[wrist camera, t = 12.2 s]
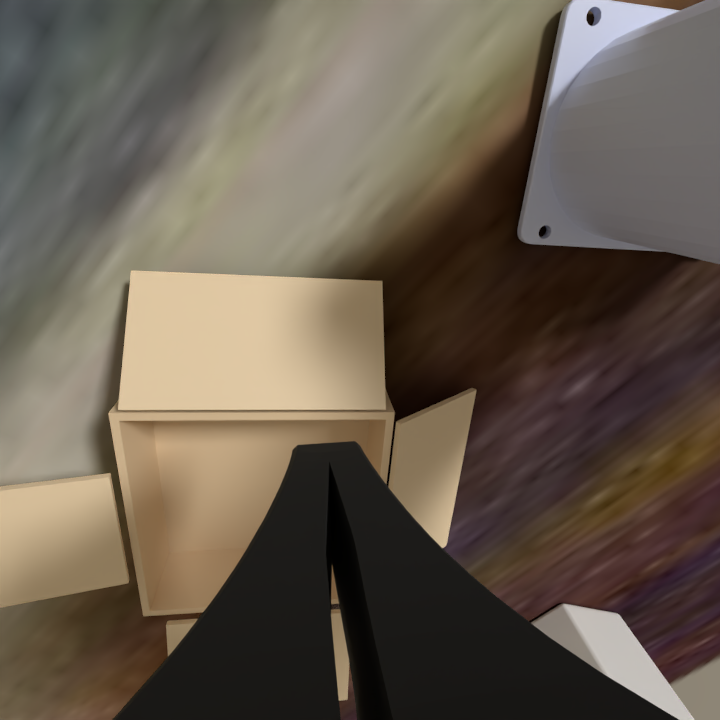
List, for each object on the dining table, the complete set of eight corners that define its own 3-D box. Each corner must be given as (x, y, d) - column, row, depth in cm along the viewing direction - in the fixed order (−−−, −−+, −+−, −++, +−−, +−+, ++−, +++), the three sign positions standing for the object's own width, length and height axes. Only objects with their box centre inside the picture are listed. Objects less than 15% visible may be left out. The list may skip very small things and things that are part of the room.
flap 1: (109, 477, 16) (-67, 498, 14) (128, 583, 18) (-24, 612, 16) (110, 473, 16) (-63, 494, 14) (129, 578, 18) (-21, 606, 16)
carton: (379, 373, 20) (394, 412, 17) (362, 542, 24) (372, 601, 20) (141, 370, 18) (108, 413, 15) (165, 551, 22) (143, 616, 19)
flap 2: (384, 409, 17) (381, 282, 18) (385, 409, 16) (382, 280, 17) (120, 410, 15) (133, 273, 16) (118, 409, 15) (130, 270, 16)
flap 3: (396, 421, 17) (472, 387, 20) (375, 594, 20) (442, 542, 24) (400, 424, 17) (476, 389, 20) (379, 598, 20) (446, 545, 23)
